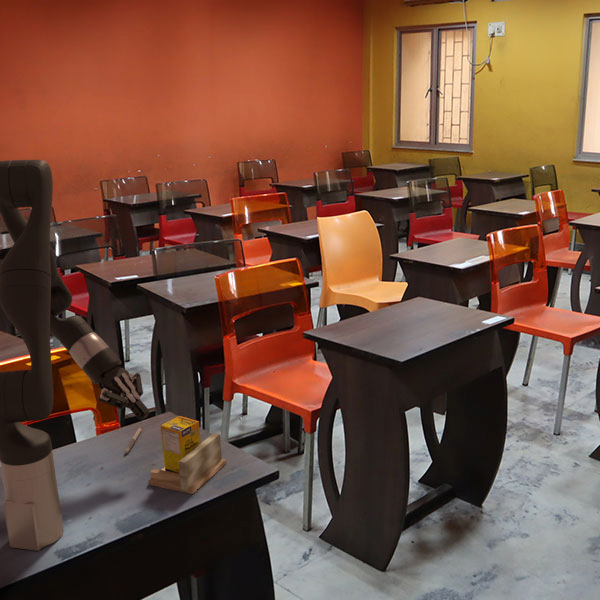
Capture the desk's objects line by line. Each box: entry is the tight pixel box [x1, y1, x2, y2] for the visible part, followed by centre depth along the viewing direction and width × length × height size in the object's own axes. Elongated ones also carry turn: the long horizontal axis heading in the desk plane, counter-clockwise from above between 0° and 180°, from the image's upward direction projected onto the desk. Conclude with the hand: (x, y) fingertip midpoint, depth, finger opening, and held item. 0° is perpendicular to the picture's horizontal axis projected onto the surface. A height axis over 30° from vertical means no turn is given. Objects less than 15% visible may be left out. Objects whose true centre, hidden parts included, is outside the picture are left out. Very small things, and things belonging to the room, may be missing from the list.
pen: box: [124, 425, 143, 454], centre depth 181 cm, size 1×14×1 cm, turn 176°
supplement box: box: [160, 415, 202, 474], centre depth 164 cm, size 6×6×11 cm
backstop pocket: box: [147, 432, 227, 495], centre depth 164 cm, size 14×11×7 cm
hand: (145, 416), depth 166 cm, fingers closed
